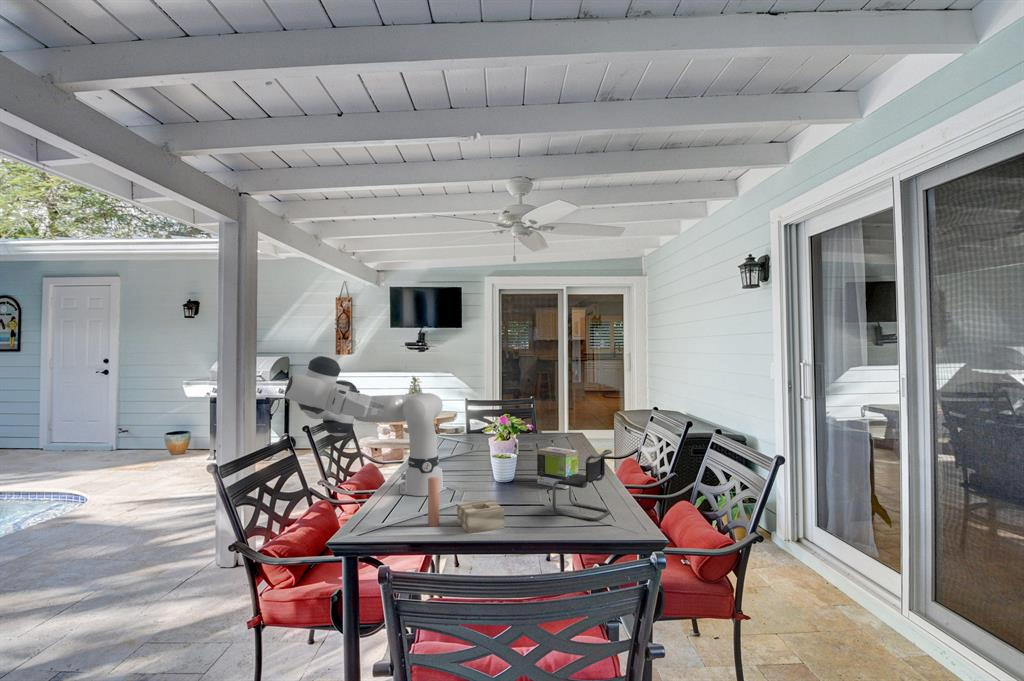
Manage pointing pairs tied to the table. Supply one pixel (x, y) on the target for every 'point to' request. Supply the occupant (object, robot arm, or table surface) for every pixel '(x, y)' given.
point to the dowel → (433, 502)
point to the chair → (584, 485)
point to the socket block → (480, 516)
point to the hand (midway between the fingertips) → (383, 410)
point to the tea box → (556, 465)
